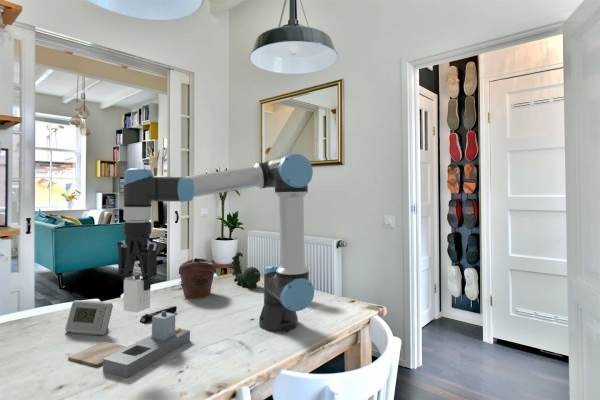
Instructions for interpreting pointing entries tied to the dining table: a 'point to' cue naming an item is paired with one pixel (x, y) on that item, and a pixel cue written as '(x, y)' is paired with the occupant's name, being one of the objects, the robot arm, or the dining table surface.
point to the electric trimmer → (148, 317)
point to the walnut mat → (96, 353)
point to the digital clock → (89, 317)
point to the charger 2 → (163, 326)
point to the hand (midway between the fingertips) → (137, 299)
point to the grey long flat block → (143, 353)
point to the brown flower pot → (197, 277)
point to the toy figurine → (245, 273)
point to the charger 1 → (134, 295)
